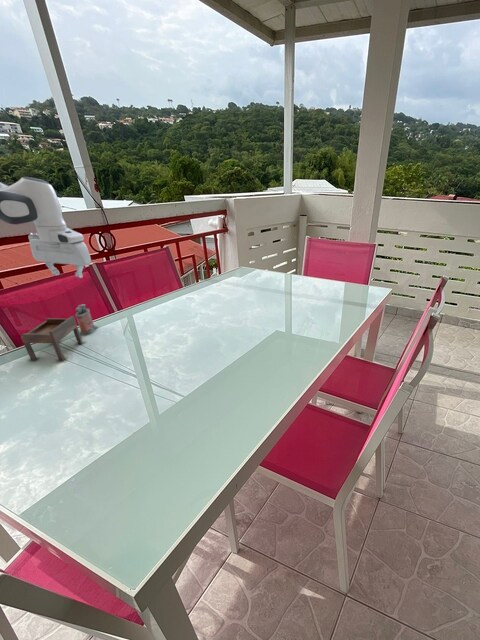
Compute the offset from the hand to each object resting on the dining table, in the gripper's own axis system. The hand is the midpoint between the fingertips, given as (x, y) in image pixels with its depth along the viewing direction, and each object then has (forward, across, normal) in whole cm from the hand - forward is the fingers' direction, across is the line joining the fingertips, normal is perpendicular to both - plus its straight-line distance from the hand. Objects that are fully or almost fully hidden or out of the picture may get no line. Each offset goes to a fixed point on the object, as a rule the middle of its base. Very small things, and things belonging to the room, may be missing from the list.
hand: (68, 276), depth 120 cm
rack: (+20, +5, -20) cm, 29 cm away
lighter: (+20, +3, -2) cm, 21 cm away
